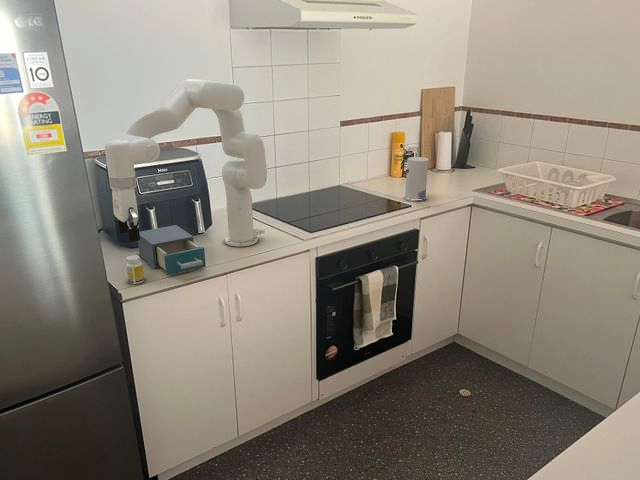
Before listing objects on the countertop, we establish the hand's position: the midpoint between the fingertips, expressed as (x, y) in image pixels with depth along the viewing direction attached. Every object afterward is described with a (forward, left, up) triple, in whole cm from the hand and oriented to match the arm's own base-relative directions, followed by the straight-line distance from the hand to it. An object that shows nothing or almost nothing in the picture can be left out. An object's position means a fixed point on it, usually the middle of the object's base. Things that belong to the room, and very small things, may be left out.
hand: (129, 236), depth 172 cm
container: (-146, -22, -16) cm, 149 cm away
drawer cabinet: (-16, -15, -16) cm, 27 cm away
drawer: (-16, -1, -14) cm, 22 cm away
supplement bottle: (0, 0, -16) cm, 16 cm away
